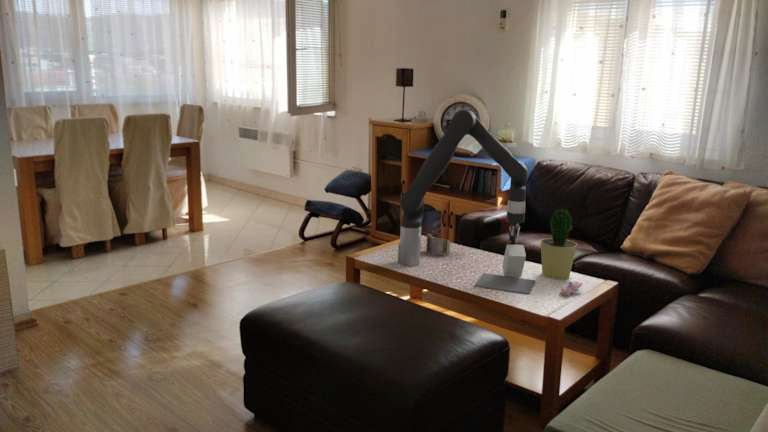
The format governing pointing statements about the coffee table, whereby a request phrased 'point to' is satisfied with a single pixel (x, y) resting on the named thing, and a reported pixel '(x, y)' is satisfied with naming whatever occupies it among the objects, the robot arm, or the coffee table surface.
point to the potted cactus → (558, 248)
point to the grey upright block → (438, 245)
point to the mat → (505, 283)
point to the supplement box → (514, 260)
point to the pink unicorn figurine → (571, 288)
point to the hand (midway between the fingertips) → (512, 250)
